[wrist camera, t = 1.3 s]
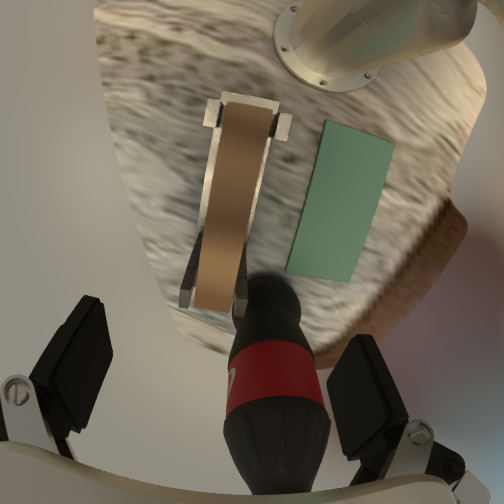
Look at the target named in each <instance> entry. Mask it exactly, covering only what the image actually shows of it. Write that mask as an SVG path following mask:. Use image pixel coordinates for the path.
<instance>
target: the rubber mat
mask: <svg viewBox="0 0 504 504" xmlns="http://www.w3.org/2000/svg"><path fill="white" fill-rule="evenodd" d="M393 149H394V144H392V143H389V142H387V141H384V140H382V139H379V138H377V137H374V136H372V135H369V134H366V133H364V132H361V131H358V130H355V129H353V128H350V127H347V126H344V125H341V124H338V123H335V122H332V121H328V120H325V124H324V128H323V132H322V136H321V141H320V145H319V149H318V153H317V157H316V160H315V164H314V168H313V172H312V176H311V180H310V183H309V187H308V191H307V195H306V198H305V202H304V206H303V209H302V213H301V217H300V220H299V224H298V227H297V231H296V234H295V238H294V241H293V245H292V248H291V252H290V255H289V258H288V262H287V265H286V269H285V273H288V274H294V275H300V276H307V277H313V278H320V279H326V280H333V281H339V282H346V283H349V281H350V278H351V276H352V273H353V271H354V268H355V266H356V263H357V261H358V258H359V255H360V253H361V250H362V247H363V245H364V242H365V239H366V237H367V234H368V231H369V228H370V225H371V222H372V219H373V216H374V214H375V210H376V207H377V204H378V201H379V198H380V195H381V192H382V188H383V185H384V182H385V178H386V175H387V171H388V168H389V164H390V161H391V157H392V153H393Z"/></svg>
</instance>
